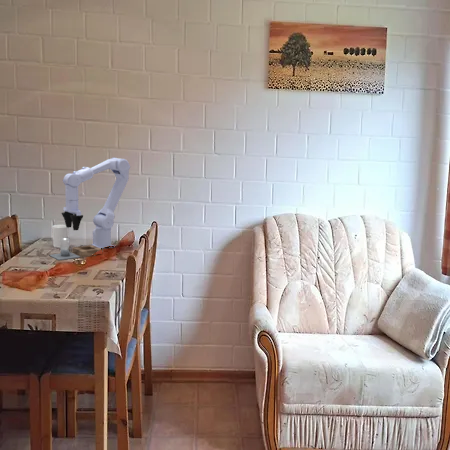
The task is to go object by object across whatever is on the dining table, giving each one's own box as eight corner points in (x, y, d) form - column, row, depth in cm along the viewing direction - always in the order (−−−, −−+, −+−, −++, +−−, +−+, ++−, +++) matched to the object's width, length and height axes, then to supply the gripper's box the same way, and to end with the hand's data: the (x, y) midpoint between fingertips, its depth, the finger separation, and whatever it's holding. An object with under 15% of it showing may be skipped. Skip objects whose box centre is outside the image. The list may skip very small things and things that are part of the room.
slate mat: (49, 255, 240) (49, 254, 240) (70, 252, 247) (70, 252, 247) (58, 260, 233) (58, 259, 233) (80, 257, 240) (80, 256, 239)
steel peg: (59, 255, 240) (58, 237, 239) (67, 254, 243) (67, 236, 241) (62, 257, 237) (62, 239, 236) (71, 255, 240) (71, 238, 238)
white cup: (51, 245, 261) (50, 224, 259) (67, 244, 265) (67, 224, 263) (53, 248, 254) (52, 227, 252) (70, 247, 258) (70, 227, 256)
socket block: (72, 252, 248) (72, 247, 247) (92, 250, 254) (92, 244, 254) (82, 257, 240) (82, 251, 240) (102, 254, 247) (102, 249, 246)
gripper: (57, 198, 250) (57, 226, 253) (70, 202, 240) (71, 232, 242) (71, 197, 255) (71, 225, 257) (85, 201, 244) (85, 230, 247)
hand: (72, 228), depth 250 cm, fingers open, 7 cm apart
